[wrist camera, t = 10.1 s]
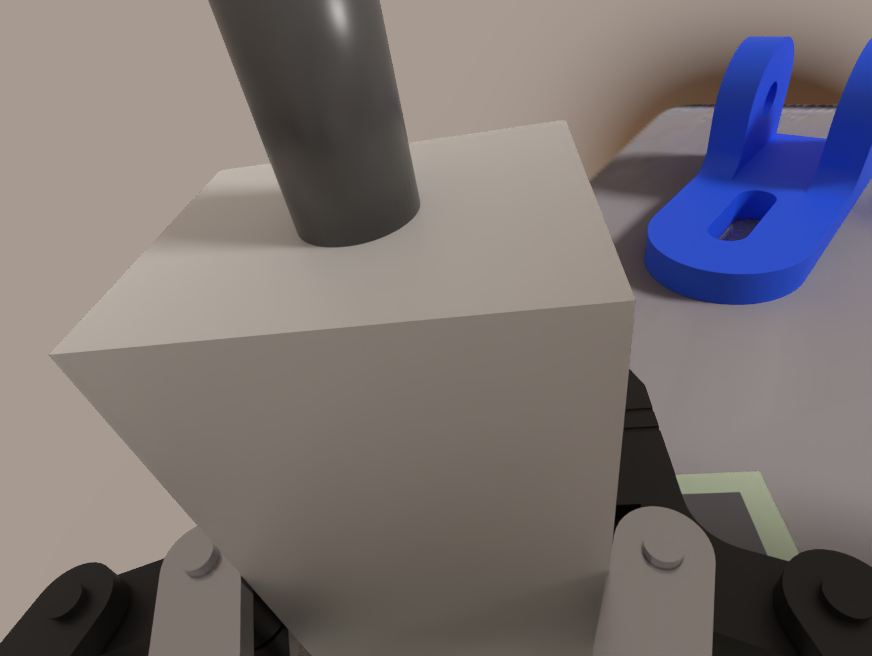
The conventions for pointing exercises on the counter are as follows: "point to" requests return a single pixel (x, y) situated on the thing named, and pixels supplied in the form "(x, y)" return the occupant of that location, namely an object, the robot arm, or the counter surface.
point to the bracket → (763, 185)
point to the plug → (379, 359)
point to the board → (738, 511)
